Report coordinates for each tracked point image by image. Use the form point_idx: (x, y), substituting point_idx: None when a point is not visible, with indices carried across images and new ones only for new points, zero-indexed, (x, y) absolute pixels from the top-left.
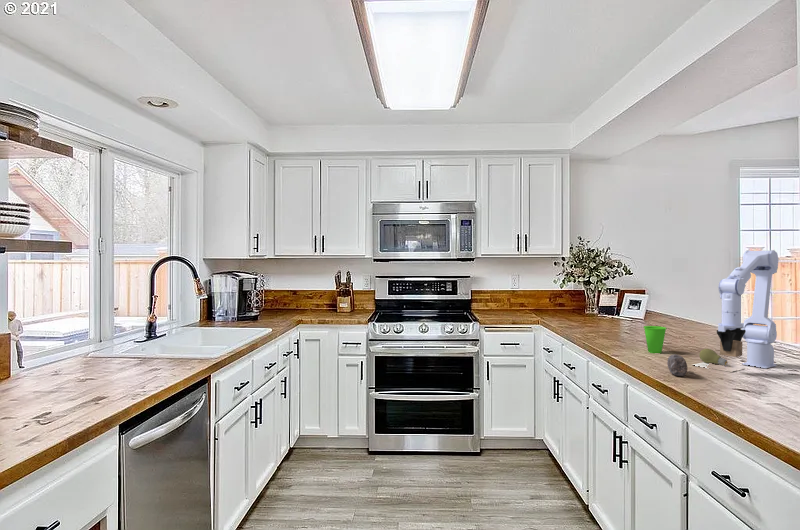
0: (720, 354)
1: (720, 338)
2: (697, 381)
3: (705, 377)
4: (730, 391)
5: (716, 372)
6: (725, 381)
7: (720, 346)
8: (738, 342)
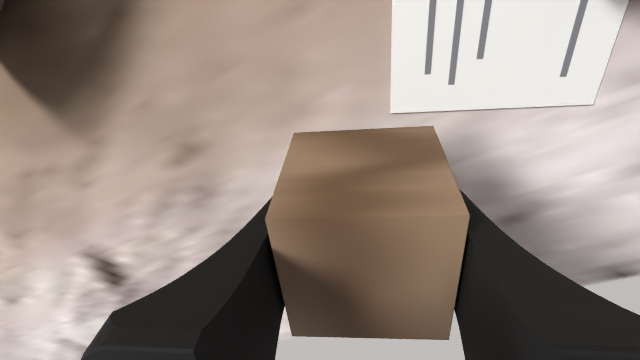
0: (295, 137)
1: (195, 273)
2: (14, 127)
3: (122, 100)
4: (49, 260)
5: (308, 58)
6: (157, 190)
7: (281, 178)
8: (353, 335)
